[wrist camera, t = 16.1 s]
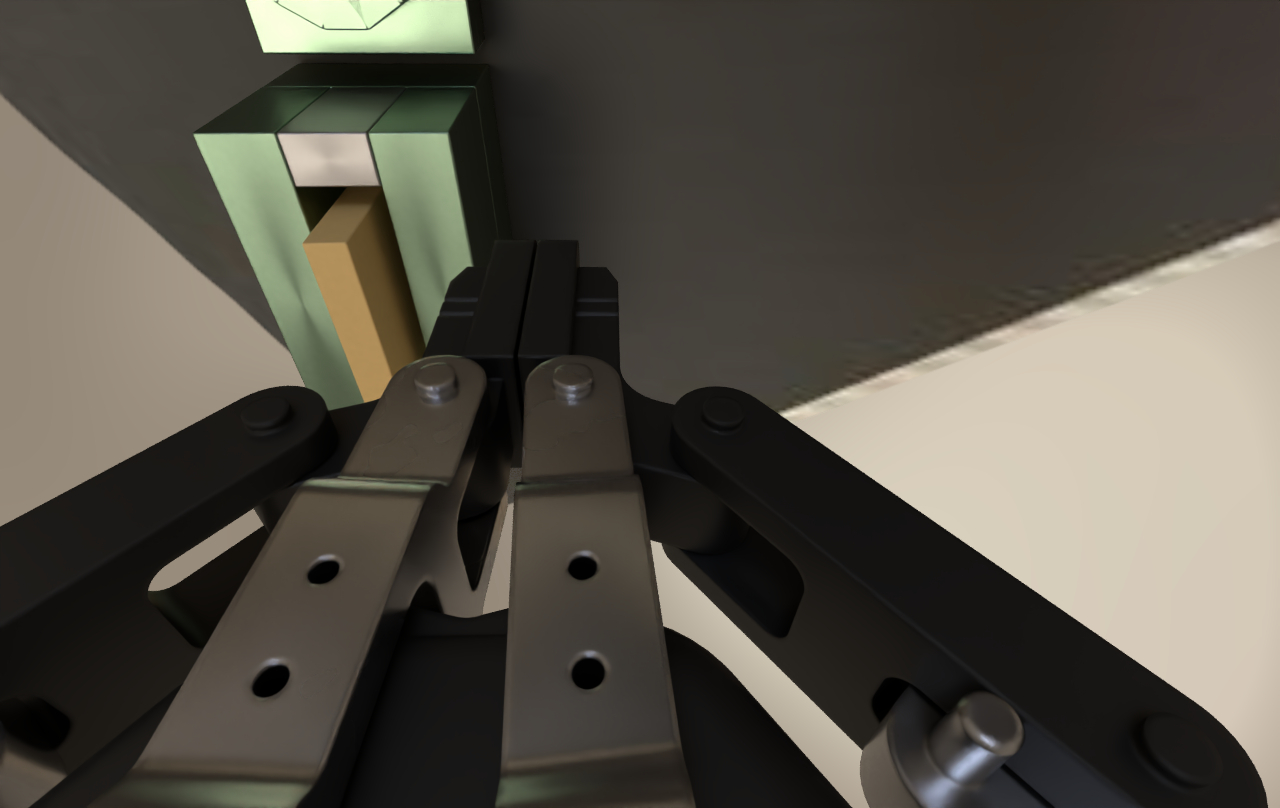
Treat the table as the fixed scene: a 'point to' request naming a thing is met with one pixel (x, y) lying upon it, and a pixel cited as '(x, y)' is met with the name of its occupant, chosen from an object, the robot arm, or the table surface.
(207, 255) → the table surface
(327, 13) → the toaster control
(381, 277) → the toast
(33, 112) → the table surface
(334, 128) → the toaster
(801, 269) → the table surface
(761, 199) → the table surface
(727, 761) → the robot arm
